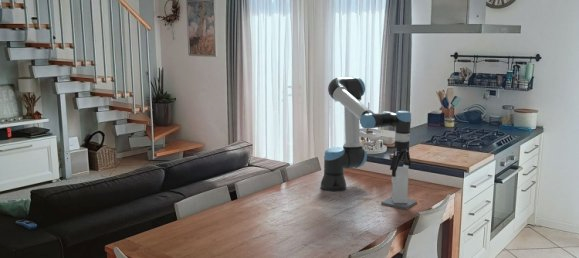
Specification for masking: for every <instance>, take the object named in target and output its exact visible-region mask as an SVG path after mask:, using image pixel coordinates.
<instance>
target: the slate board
mask: <svg viewBox="0 0 579 258" xmlns="http://www.w3.org/2000/svg"><path fill="white" fill-rule="evenodd" d="M417 203H418V200H413V199H409V198H407V203H394V202H393V200H392V196H391V197H389V198H387V199H385V200H383V201H381V205H382V206H387V207H391V208H396V209H401V210H404V211H405V210H407V209H409V208H411V207H413V206H415V205H416V204H417Z"/></svg>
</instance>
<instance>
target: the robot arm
mask: <svg viewBox="0 0 579 258" xmlns="http://www.w3.org/2000/svg"><path fill="white" fill-rule="evenodd" d="M327 92H328V94H329V96H330V97H331V98H332V99H333V100H334V101H335V102H339V103H340V104H341V105H342V106H343V107H344V133H345V136H344V137H345V143H344V144H343V145H342V147H340V146H337V147H335V146H334V147H329V148H327V149H325V151H324V156H323V160H324V161H323V176H322V179H321V182H320V189H322V190H325V191H329V192H330V191H331V192H339V191H344V190H346V189H347V182H346V177H345V170H347V169H348V170H349V169H353V168H354V169H358V168H360V167H363V166H364V165H365V164H366V162H367V158H368V153H367V151H366V149H365V148H364V147H363V144H362V143H361V138H360V137H361V136H360V135H361V133H360V131H361V130H360V127H362V128H363V129H377V128H387V127H389V128H390V127H391V128H395V132H394V133H395V134H394V136H395V137H394V148H395V149H396V150H393V156H392V159H391V163H390V166H389V170H390V171H391V181H390V182H391V183H393V182H394V183H397V168H398V167H399V165H400V163H401V161H403V166H402V167H408V168H409V166H411V162H412V161H411V156H410V138H411V124H412V123H411V122H412V113H411V112H410V111H409V110H398V111H397V112H392V111H386V110H385V111H382V112H380V113H379V112H378V113H374V112H373V111H372V110H370V109H369V108H368V107H367V106H366V105H365V104H364V103H362V102H361V101H362V96H364V95H365V93H366V85H365V83H364V80H363V79H361V77H358V76H347V77H346V76H343V77H341V76H340V77H334V78H333V79H332V80H331V81H329V84H328V86H327Z"/></svg>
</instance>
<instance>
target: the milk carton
mask: <svg viewBox="0 0 579 258" xmlns="http://www.w3.org/2000/svg"><path fill="white" fill-rule="evenodd" d="M391 189H392V190H391V197H392V200H393V202H394V203H407V199H408V192H409V191H408V190H409V167H403V166H398V168H397V183H394V182H391Z"/></svg>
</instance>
